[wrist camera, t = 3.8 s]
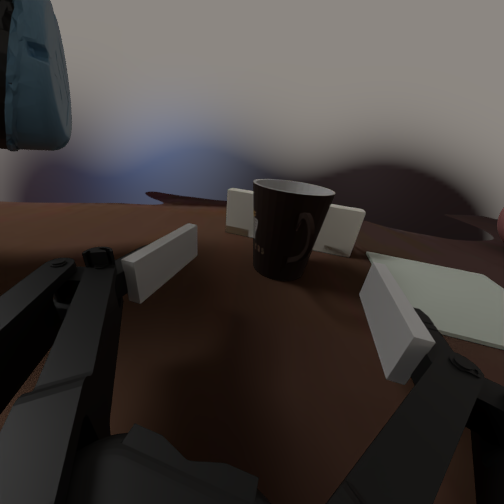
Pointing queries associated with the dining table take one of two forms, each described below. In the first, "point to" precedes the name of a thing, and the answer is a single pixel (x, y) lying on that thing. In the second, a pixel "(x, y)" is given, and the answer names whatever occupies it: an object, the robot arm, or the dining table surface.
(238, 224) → the white rectangular block
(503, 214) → the balloon
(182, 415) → the dining table surface
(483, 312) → the mat
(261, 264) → the coffee mug
